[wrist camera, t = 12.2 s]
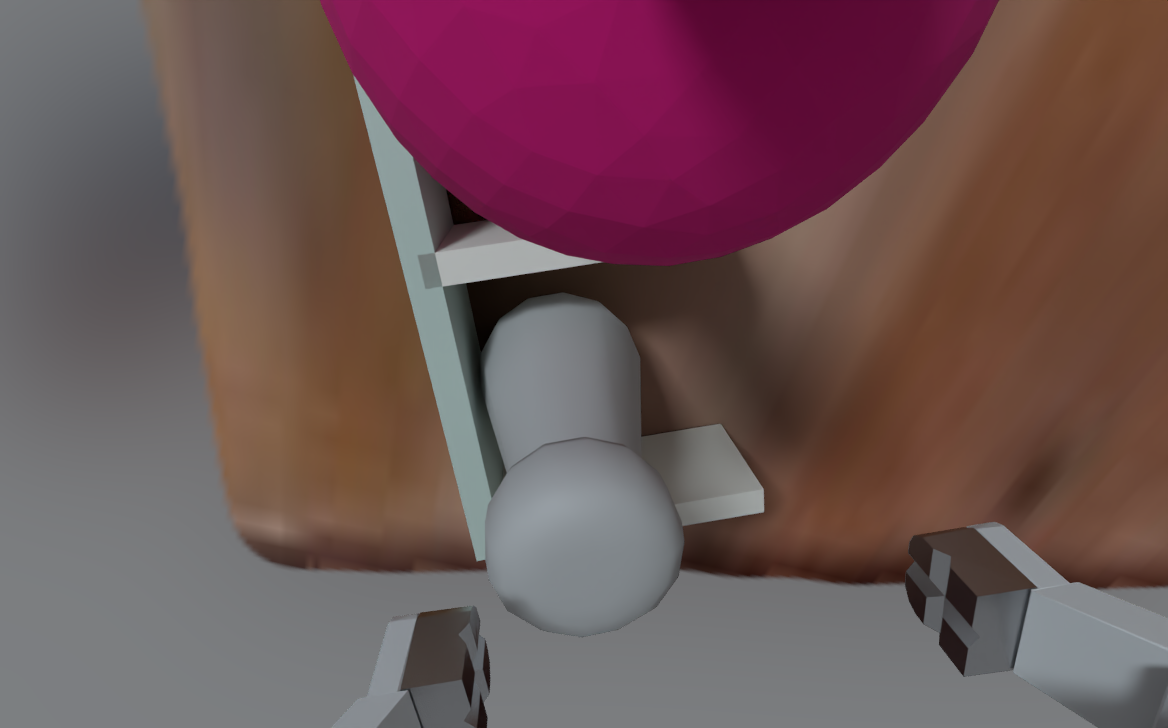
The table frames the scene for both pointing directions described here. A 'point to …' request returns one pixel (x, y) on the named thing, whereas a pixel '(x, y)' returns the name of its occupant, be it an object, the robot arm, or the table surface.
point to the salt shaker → (573, 472)
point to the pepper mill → (654, 108)
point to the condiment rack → (450, 343)
